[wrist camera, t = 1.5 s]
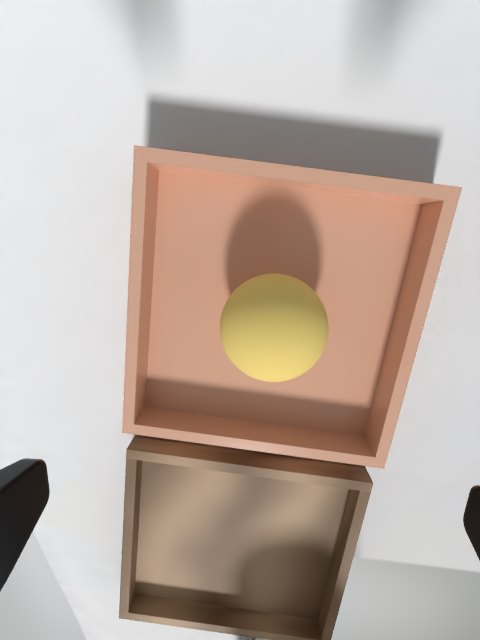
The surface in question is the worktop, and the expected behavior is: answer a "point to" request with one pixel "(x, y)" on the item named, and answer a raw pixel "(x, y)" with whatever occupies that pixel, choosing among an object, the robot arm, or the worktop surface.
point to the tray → (238, 538)
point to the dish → (280, 258)
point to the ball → (274, 327)
